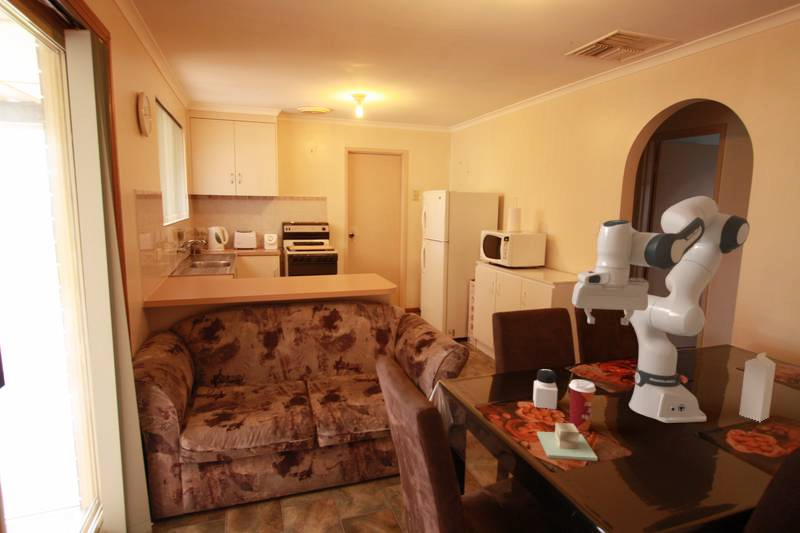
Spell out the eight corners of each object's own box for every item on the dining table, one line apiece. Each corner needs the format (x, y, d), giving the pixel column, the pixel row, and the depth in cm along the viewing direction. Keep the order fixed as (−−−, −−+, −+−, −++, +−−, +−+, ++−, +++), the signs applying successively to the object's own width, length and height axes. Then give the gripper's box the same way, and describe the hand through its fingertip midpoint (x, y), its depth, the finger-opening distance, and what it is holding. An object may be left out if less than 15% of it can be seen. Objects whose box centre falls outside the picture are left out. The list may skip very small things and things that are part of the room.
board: (581, 436, 130) (581, 434, 130) (597, 460, 117) (597, 458, 117) (536, 433, 131) (536, 431, 131) (547, 457, 118) (548, 455, 118)
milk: (768, 419, 145) (777, 354, 142) (760, 423, 142) (769, 357, 139) (747, 411, 150) (755, 349, 147) (738, 415, 147) (746, 351, 144)
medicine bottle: (556, 410, 148) (559, 375, 146) (534, 407, 149) (536, 373, 148) (553, 401, 155) (556, 368, 153) (532, 399, 156) (534, 366, 155)
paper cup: (590, 435, 131) (594, 390, 130) (563, 427, 135) (566, 384, 134) (594, 424, 138) (598, 382, 136) (569, 418, 142) (572, 376, 140)
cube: (572, 440, 126) (573, 423, 126) (577, 449, 121) (579, 432, 121) (554, 439, 127) (555, 422, 126) (559, 448, 122) (560, 431, 121)
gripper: (644, 276, 128) (639, 322, 130) (572, 274, 129) (568, 319, 131) (654, 279, 122) (650, 328, 123) (579, 277, 123) (575, 325, 125)
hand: (607, 324), depth 127 cm, fingers open, 8 cm apart
